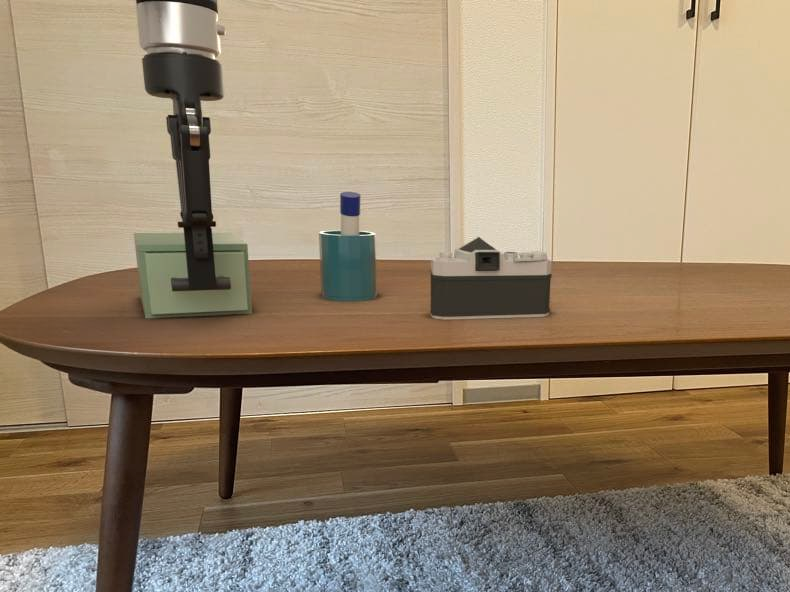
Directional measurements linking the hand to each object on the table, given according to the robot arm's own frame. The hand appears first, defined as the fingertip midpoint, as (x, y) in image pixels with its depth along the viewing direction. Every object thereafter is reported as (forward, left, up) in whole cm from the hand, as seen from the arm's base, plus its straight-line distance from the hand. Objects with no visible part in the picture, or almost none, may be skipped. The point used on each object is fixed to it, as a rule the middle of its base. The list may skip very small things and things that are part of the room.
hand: (202, 288), depth 85 cm
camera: (+34, -1, -5) cm, 34 cm away
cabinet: (0, +13, -4) cm, 13 cm away
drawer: (0, +9, -4) cm, 10 cm away
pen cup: (+20, +15, -4) cm, 25 cm away
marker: (+20, +15, -3) cm, 25 cm away
